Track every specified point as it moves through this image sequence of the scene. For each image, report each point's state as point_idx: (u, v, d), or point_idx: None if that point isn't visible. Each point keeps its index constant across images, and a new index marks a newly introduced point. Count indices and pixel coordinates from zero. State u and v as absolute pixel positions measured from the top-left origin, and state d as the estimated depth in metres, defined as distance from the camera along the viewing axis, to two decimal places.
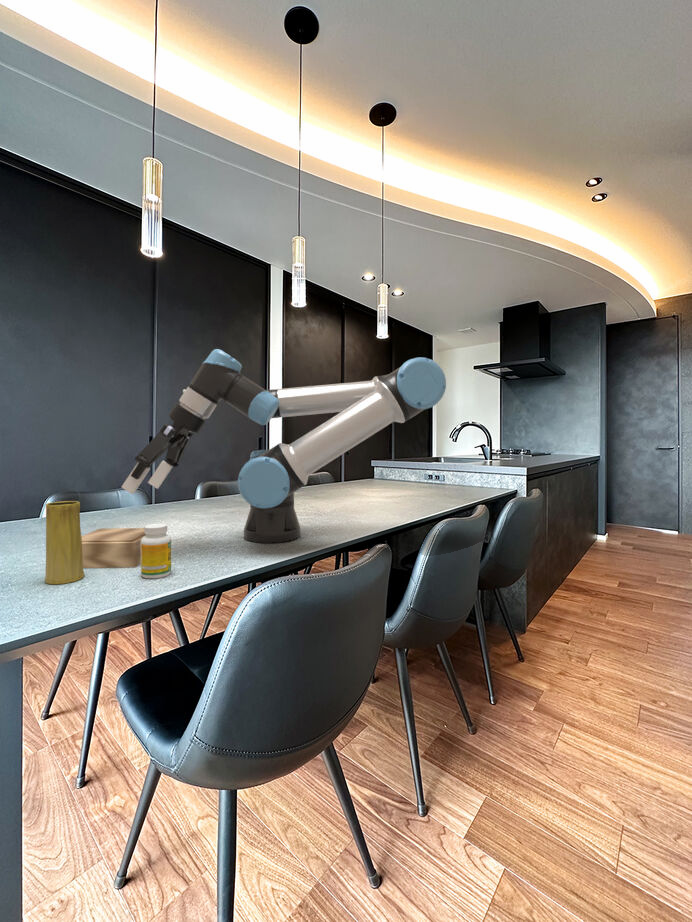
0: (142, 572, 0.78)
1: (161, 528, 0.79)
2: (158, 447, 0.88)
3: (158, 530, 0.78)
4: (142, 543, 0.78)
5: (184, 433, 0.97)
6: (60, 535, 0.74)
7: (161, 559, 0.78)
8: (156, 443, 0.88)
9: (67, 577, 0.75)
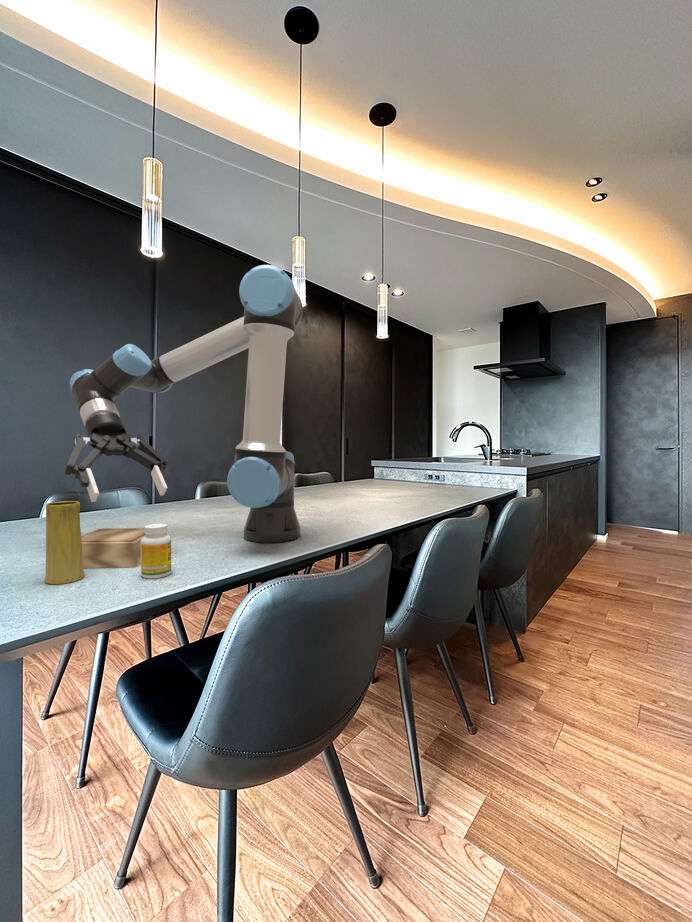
0: (142, 572, 0.78)
1: (161, 528, 0.79)
2: None
3: (158, 530, 0.78)
4: (142, 543, 0.78)
5: (114, 436, 0.93)
6: (60, 535, 0.74)
7: (161, 559, 0.78)
8: None
9: (67, 577, 0.75)
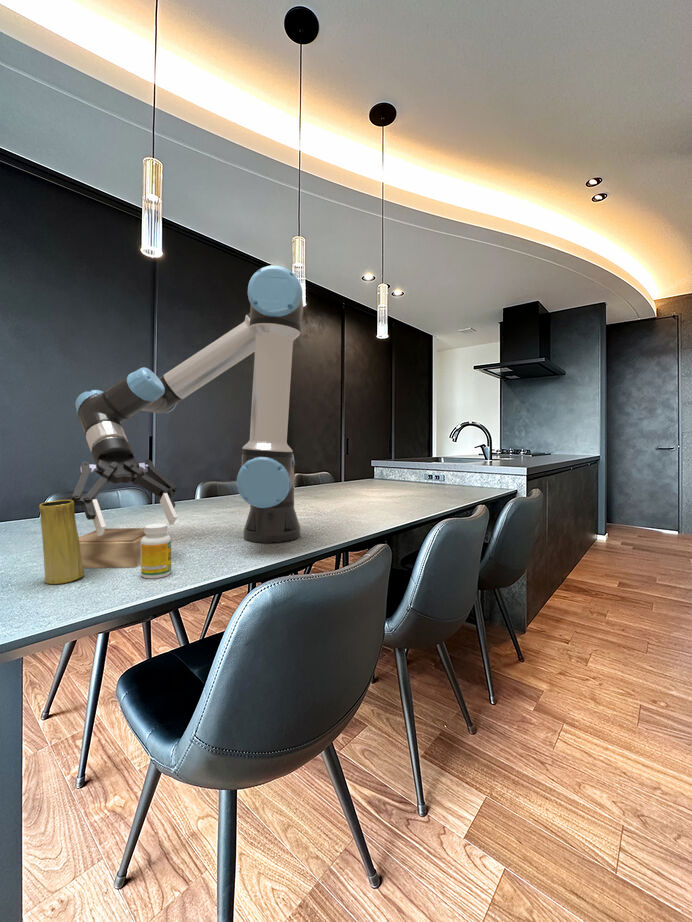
0: (142, 572, 0.78)
1: (161, 528, 0.79)
2: (78, 481, 0.80)
3: (158, 530, 0.78)
4: (142, 543, 0.78)
5: (122, 462, 0.89)
6: (56, 536, 0.74)
7: (161, 559, 0.78)
8: None
9: (67, 576, 0.75)
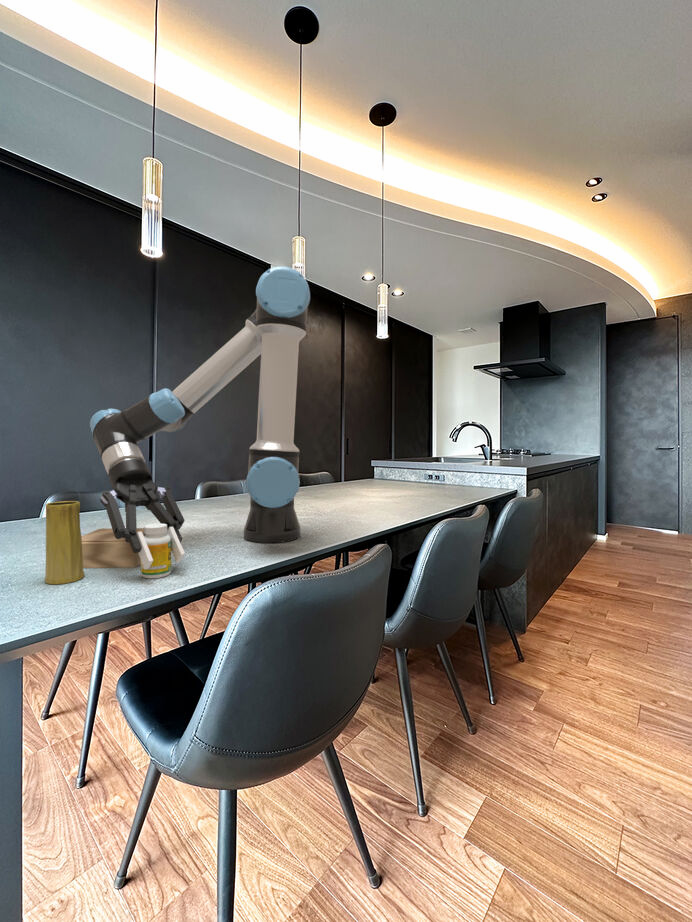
0: (142, 572, 0.78)
1: (161, 528, 0.79)
2: (112, 513, 0.78)
3: (158, 530, 0.78)
4: None
5: (141, 481, 0.86)
6: (60, 535, 0.74)
7: (161, 559, 0.78)
8: (110, 514, 0.78)
9: (67, 576, 0.75)
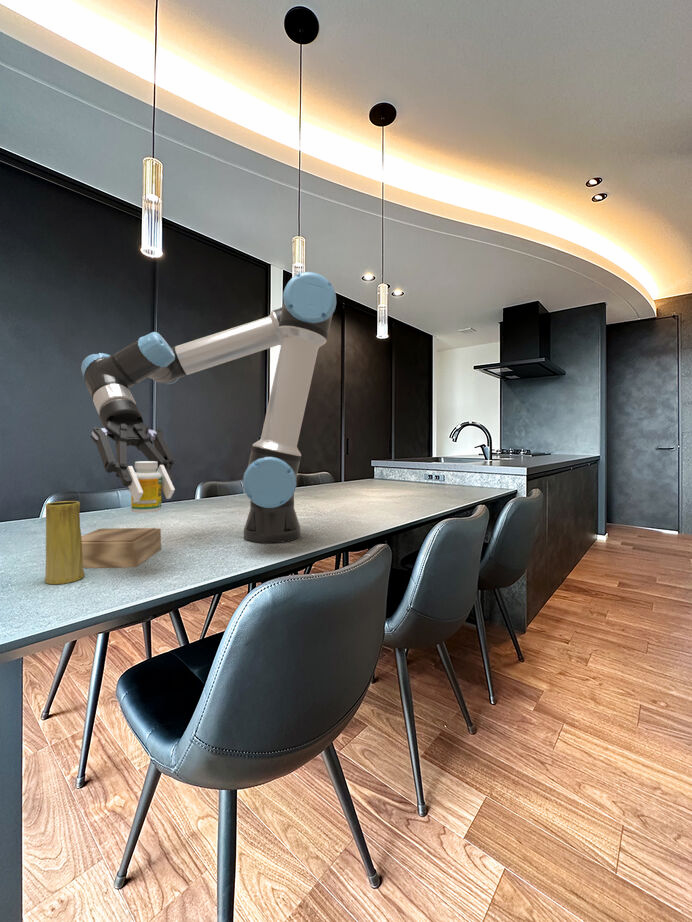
0: (132, 506, 0.79)
1: (151, 463, 0.79)
2: (103, 447, 0.78)
3: (148, 465, 0.79)
4: None
5: (131, 422, 0.87)
6: (60, 535, 0.74)
7: (151, 493, 0.79)
8: (101, 448, 0.79)
9: (67, 576, 0.75)
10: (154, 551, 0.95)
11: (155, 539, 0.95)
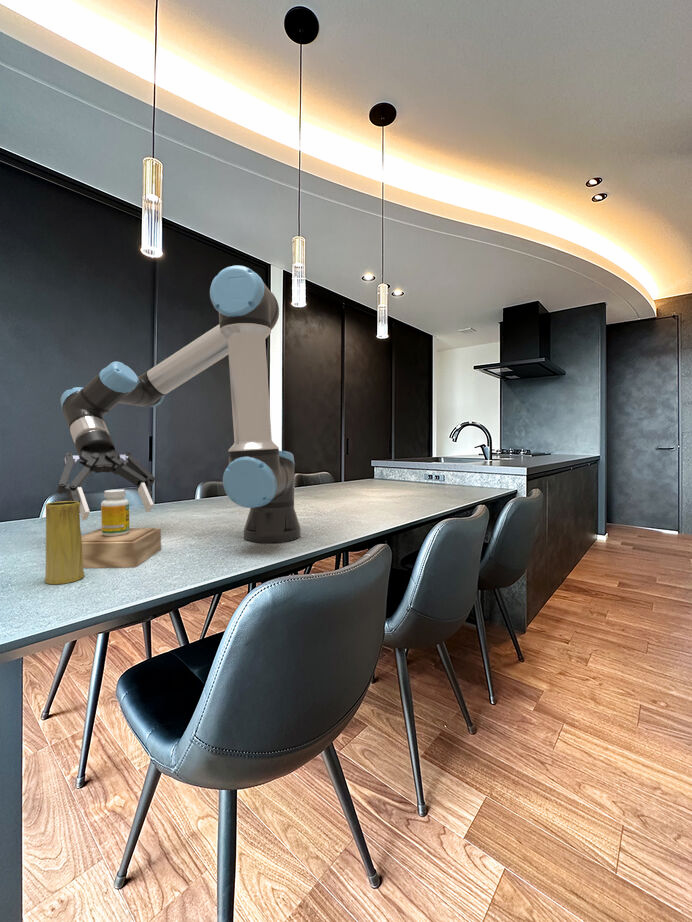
0: (102, 531, 0.89)
1: (119, 492, 0.89)
2: None
3: (116, 493, 0.89)
4: (102, 505, 0.89)
5: (103, 453, 0.96)
6: (60, 535, 0.74)
7: (119, 519, 0.89)
8: None
9: (67, 576, 0.75)
10: (154, 551, 0.95)
11: (155, 539, 0.95)
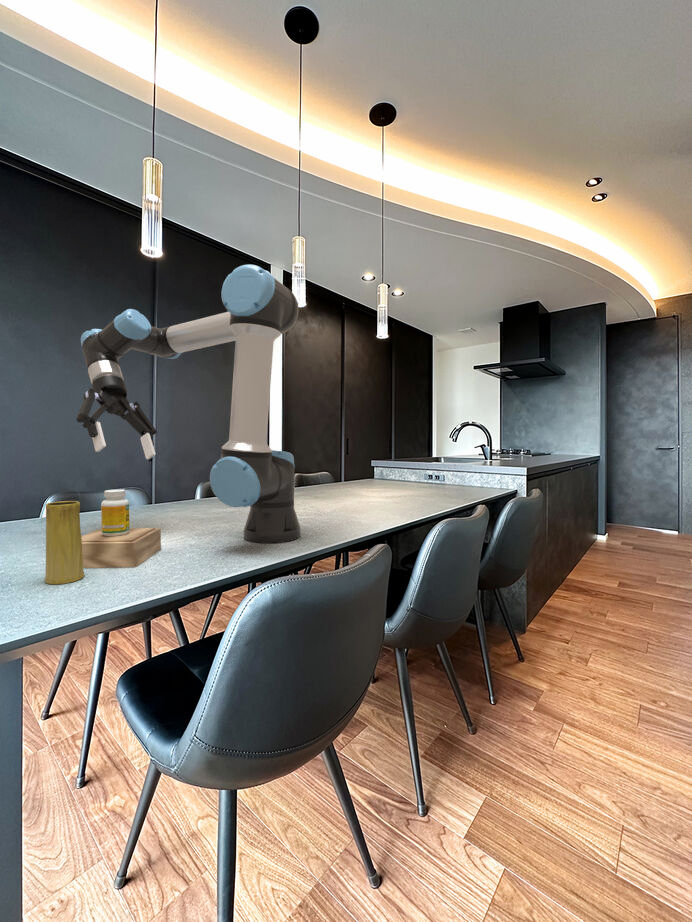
0: (102, 531, 0.89)
1: (119, 492, 0.89)
2: (86, 403, 0.97)
3: (116, 493, 0.89)
4: (102, 505, 0.89)
5: (118, 398, 1.06)
6: (60, 535, 0.74)
7: (119, 519, 0.89)
8: (84, 404, 0.97)
9: (67, 576, 0.75)
10: (154, 551, 0.95)
11: (155, 539, 0.95)
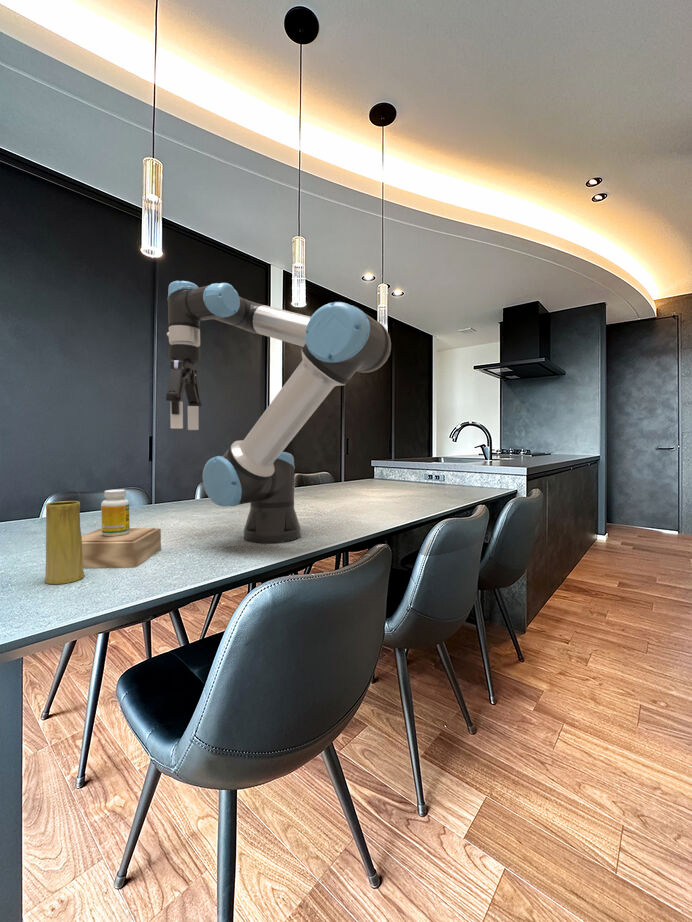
0: (102, 531, 0.89)
1: (119, 492, 0.89)
2: (177, 379, 0.99)
3: (116, 493, 0.89)
4: (102, 505, 0.89)
5: (190, 368, 1.08)
6: (60, 535, 0.74)
7: (119, 519, 0.89)
8: (174, 377, 0.99)
9: (67, 576, 0.75)
10: (154, 551, 0.95)
11: (155, 539, 0.95)
